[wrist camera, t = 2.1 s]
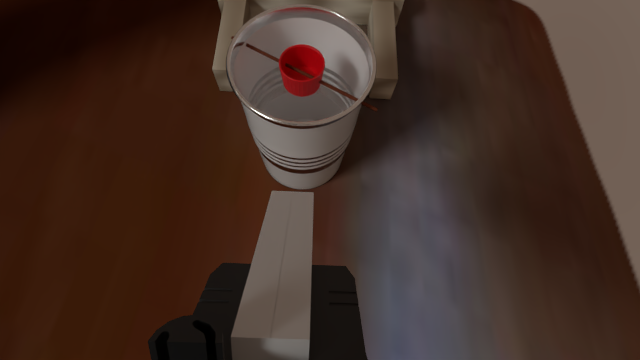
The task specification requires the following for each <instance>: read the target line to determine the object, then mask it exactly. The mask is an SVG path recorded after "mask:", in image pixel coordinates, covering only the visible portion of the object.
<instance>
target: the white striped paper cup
mask: <svg viewBox="0 0 640 360" xmlns="http://www.w3.org/2000/svg"><path fill="white" fill-rule="evenodd" d="M231 39H232V41H231V43H230V46H229V49H228V52H227V56H226V73H227V77H228V81H229V83H230V86H231V88H232V90H233V91H234V93H235V95H236V96H237V97H238V99H239V100H240V101H241V103H242V106H243V109H244V112H245V114H246V118H247V122H248V125H249V127H250V130H251V132H252V135H253V138H254V140H255V143H256V144H257V146H258V149H259V151H260V154H261V156H262V159H263V161H264V164H265V166H266V168H267V170H268V172H269V173H270V174H271V176H272V177H273V178H274V179H275V180H277V181H278V182H279V183H281V184H283V185H285V186H287V187H290V188H294V189H311V188H315V187H318V186H320V185H322V184H324V183H326V182H327V181H329V180H330V179H331V178H332V177H333V176H334V175H335V173H336V172H337V170H338V169H339V167H340V164H341V161H342V159H343V156H344V153H345V150H346V148H347V145H348V144H349V141H350V139H351V136H352V133H353V131H354V128H355V125H356V122H357V118H358V114H359V111H360V108H361V105H364V106H366V107H368V108H370V109H372V110H374V111H376V112H377V110H378V108H376V107H374V106H372V105H370V104H368V103H366V102H364V100H365V98H366V97H367V95H368V94H369V92H370V90H371V89H372V86H373V84H374V81H375V77H376V70H377V63H376V56H375V52H374V49H373V46H372V44H371V42H370V40H369V39H368V37H367V36H366V34H365V33H364V32H363V31H362V29H361V28H360V27H359V26H358V25H357V24H355V23H354V22H353V21H352V20H350V19H349V18H347V17H346V16H344V15H342V14H340V13H338V12H336V11H334V10H331V9H328V8H325V7H321V6H317V5H310V4H290V5H283V6H279V7H275V8H272V9H269V10H266V11H264V12H262V13H260V14H258V15H256V16H255V17H253V18H252V19H250V20H249V21H248V22H247V23H245V24H244V25H243V26H242V27H241V28H240V29H239V31H238V32H237V33H236V35H235V36H232V37H231Z"/></svg>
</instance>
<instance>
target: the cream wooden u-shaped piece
mask: <svg viewBox="0 0 640 360" xmlns="http://www.w3.org/2000/svg"><path fill="white" fill-rule="evenodd" d="M218 3H219V7H220V11H221V14H222V17H221V23H220V28H219V34H218V40H217V46H216V51H215V57H214V63H213V68H212V70H213V73H214V75H215V78H216V81H217V84H218V86H219V89H220V91H233V90H232V88H231V86H230V83H229V81H228V77H227V73H226V56H227V52H228V49H229V46H230V43H231V41H232V39H231V37H232V36H235V35H236V33H237V32H238V31H239V29H240V28H241V27H242V26H243V25H244V24H245V23H247V22H248V21H249V20H250V19H251V18H253V17H255V16H256V15H258V14H260V13H262V12H264V11H266V10H269V9H272V8H275V7H279V6H283V5H290V4H310V5H317V6H321V7H325V8H328V9H331V10H334V11H336V12H338V13H340V14H342V15H344V16H346V17H347V18H349V19H350V20H352V21H353V22H354V23H355V24H360V25H368V39H369V40H370V42H371V44H372V46H373V49H374V52H375V56H376V63H377V70H376V77H375V81H374V84H373V86H372V89H371V90H370V92H369V98H376V99H391V96H392V94H393V91H394V89H395V86H396V84H397V81H398V68H397V51H396V35H395V26H397V22H398V19H399V16H400V13H401V10H402V7H403V3H404V0H218Z"/></svg>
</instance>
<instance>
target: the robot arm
mask: <svg viewBox="0 0 640 360" xmlns="http://www.w3.org/2000/svg"><path fill="white" fill-rule="evenodd" d="M313 196H314V193H313V192H289V191H272V193H271V197H270V200H269V204H268V207H267V211H266V214H265V218H264V221H263V225H262V228H261V232H260V235H259V239H258V243H257V246H256V250H255V253H254V257H253V260H252V264H239V263H222V264H221V265H220V266H219V267H218V268H217V269H216V270H215V271H214V272H213V273H211V274H210V277H209V279H208V281H207V284H206V286H205V290H204V291H203V293H202V295H201V297H200V301H199V302H198V304H197V306H196V309H195V311H194V313H193V315H190V316H182V317H179V318H177V319H174V320H172V321H169V322H167V323H166V324H165V325H163V326H162V327H160V328H159V329H158V330H156V332H155V333H154V334H153V335H152V337H151V338H150V339H149V340H148V344H149V349H150V354H151V359H152V360H368V359H367V356H366V352H365V346H364V339H363V332H362V326H361V319H360V312H359V307H358V298H357V291H356V285H355V278H354V277H353V275H352V274H351V273H350V271H349V270H348V269H347V267H346V266H326V265H312V234H313Z"/></svg>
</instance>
